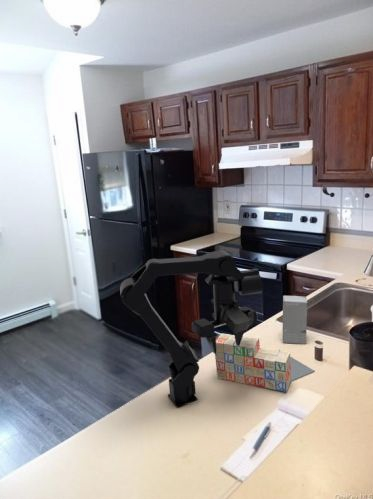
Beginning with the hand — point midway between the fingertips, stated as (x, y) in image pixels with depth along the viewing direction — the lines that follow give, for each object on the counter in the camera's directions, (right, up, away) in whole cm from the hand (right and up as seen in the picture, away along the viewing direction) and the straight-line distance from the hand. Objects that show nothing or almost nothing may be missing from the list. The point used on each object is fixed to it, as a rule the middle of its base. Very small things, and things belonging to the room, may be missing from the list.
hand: (226, 349), depth 106 cm
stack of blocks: (+9, -11, +7) cm, 16 cm away
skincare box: (+28, -5, +30) cm, 41 cm away
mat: (+18, -9, +12) cm, 24 cm away
